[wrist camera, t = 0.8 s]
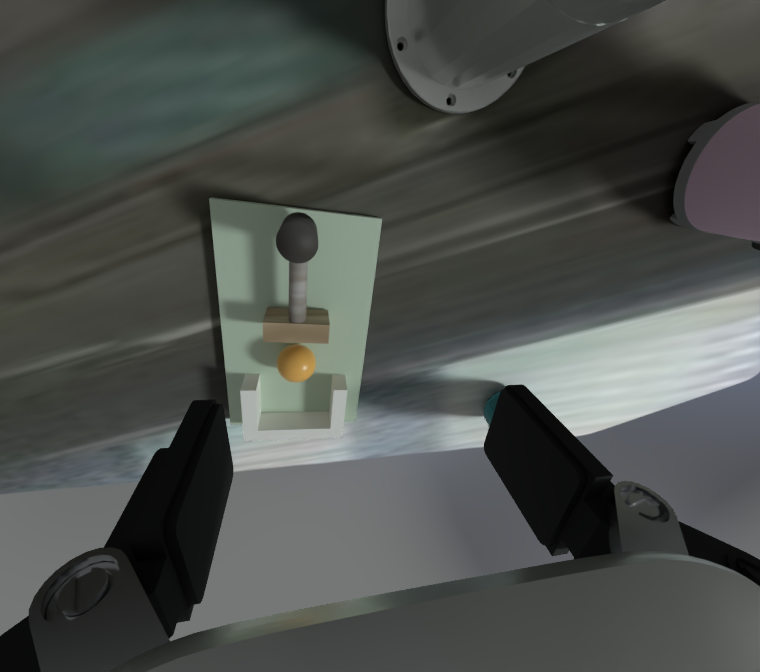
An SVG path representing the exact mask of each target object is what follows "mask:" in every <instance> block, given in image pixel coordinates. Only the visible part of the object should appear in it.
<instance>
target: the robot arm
mask: <svg viewBox="0 0 760 672" xmlns="http://www.w3.org/2000/svg"><path fill="white" fill-rule="evenodd" d="M663 1H665V0H385V29H386V35H387V40H388V46H389V50H390V53H391V56H392V59H393V62H394V65H395V67H396V69H397V71H398V73H399V75H400V77H401V79H402V81H403V82H404V83H405V85H406V86H407V87H408V89H409V90H410V91H411V93H412V94H413V95H414V96H415V97H417V98H418V99H419V100H420V101H421V102H422V103H423V104H425V105H427V106H429V107H431V108H432V109H434V110H436V111H440V112H444V113H448V114H464V113H468V112H473V111H476V110H478V109H481V108H484V107H486V106H488V105H489V104H491V103H493V102H494V101H496V100H497V99H499V98H500V97H501V96H502V95H503V94H504V93H505V92H506V91H508V90H509V89H510V87H511V86H512V85H513V84H514V83H515V81H516V80H517V79H518V78H519V76H520V75H521V73H522V71H523V69H524V68H525V66H526V65H528V64H530V63H532V62H534V61H537V60H539V59H541V58H543V57H545V56H548V55H550V54H552V53H554V52H556V51H559V50H561V49H563V48H565V47H567V46H569V45H572V44H574V43H576V42H578V41H580V40H583V39H585V38H587V37H589V36H591V35H594V34H596V33H598V32H600V31H602V30H605V29H607V28H609V27H611V26H613V25H615V24H618V23H620V22H622V21H624V20H626V19H628V18H630V17H632V16H634V15H636V14H639V13H641V12H643V11H645V10H647V9H649V8H651V7H654V6H656V5H658V4H660V3H662V2H663ZM397 44H401V46H402V51H399V50H398V48H397ZM508 73H509V75H507V74H508ZM447 98H448V99H449V100H450V104H449V105H447V103H446V99H447ZM484 451H485V453H486V455H487V457H488V459H489V460H490V462H491V464H492V465H493V467H494V469H495V470H496V472H497V473H498V475H499V477H500V478H501V480H502V482H503V483H504V485H505V486H506V488H507V490H508V491H509V493H510V494H511V496H512V498H513V499H514V501H515V503H516V504H517V506H518V508H519V509H520V511H521V513H522V514H523V516H524V517H525V519H526V521H527V522H528V524H529V526H530V527H531V529H532V530H533V532H534V534H535V535H536V537H537V539H538V540H539V541H540V543H541V544H543V545H545V546H546V547H547V549H548V550H549V552H550V554H551V555H552V556H556V555H561V554H567V553H568V551H569V550H570V552H571V553H572V555H573V556H574V559H573V560H567V561H562V562H556V563H551V564H545V565H539V566H533V567H528V568H522V569H516V570H511V571H506V572H499V573H494V574H488V575H483V576H477V577H472V578H466V579H461V580H455V581H450V582H444V583H439V584H433V585H428V586H422V587H417V588H411V589H406V590H401V591H395V592H390V593H385V594H380V595H374V596H369V597H363V598H358V599H353V600H347V601H343V602H337V603H331V604H326V605H321V606H316V607H310V608H305V609H300V610H295V611H291V612H285V613H281V614H275V615H271V616H266V617H261V618H256V619H252V620H247V621H242V622H237V623H233V624H228V625H225V626H220V627H217V628H213V629H209V630H205V631H201V632H197V633H193V634H191V635H188V636H185V637H182V638H179V639H177V640H173V641H171V642H170V640H169V638H170V637H171V636H172V635H173V634H174V630H175V627H176V624H177V623H178V622H184V621H189V620H190V617H191V613H192V610H193V606H194V604H199V603H201V601H202V599H203V596H204V591H205V588H206V584H207V580H208V576H209V572H210V567H211V564H212V560H213V556H214V551H215V547H216V543H217V539H218V535H219V531H220V527H221V523H222V519H223V514H224V511H225V507H226V502H227V499H228V495H229V490H230V487H231V483H232V478H233V462H232V456H231V451H230V445H229V439H228V433H227V427H226V421H225V415H224V409H223V405H222V404H216V401H215V400H214V399H213V400H194V401H193V402H192V403H191V405H190V407H189V409H188V411H187V413H186V415H185V417H184V419H183V421H182V423H181V425H180V427H179V429H178V431H177V433H176V435H175V437H174V439H173V441H172V443H171V445H170V447H169V448H161V449H159V450H157V451H156V453H155V454H154V456H153V458H152V459H151V461H150V463H149V465H148V467H147V469H146V470H145V472H144V474H143V476H142V478H141V480H140V482H139V483H138V485H137V487H136V489H135V491H134V493H133V495H132V496H131V498H130V500H129V502H128V504H127V506H126V508H125V509H124V511H123V513H122V515H121V517H120V519H119V521H118V522H117V525H116V526H115V528H114V530H113V532H112V534H111V535H110V537H109V539H108V541H107V543H106V544H105V546H104V548H98V549H94V550H91V551H88V552H85V553H83V554H81V555H79V556H77V557H75V558H74V559H72V560H70V561H69V562H67V563H66V564H65V565H63V566H62V567H60V568H59V569H58V570H56V571H55V572H54V573H53V574H52V575H51V576H50V577H49V578H48V579H47V580H46V581H45V582H44V584H43V585H42V586H41V588H40V589H39V591H38V592H37V593H36V595H35V596H34V599H33V601H32V604H31V606H30V608H29V616H27V617H26V618H25V619H23V620H22V621H21V622H20V623H18V624H16V625H15V626H14V627H12V628H11V629H9V630H8V631H7V632H5V633H4V634H2V635H1V636H0V672H760V560H759V559H757V558H755V557H754V556H752V555H750V554H748V553H746V552H744V551H742V550H740V549H738V548H735V547H733V546H731V545H729V544H727V543H725V542H722V541H720V540H718V539H716V538H714V537H712V536H709V535H707V534H705V533H703V532H701V531H699V530H696V529H694V528H692V527H690V526H688V525H686V524H683V523H681V522H679V521H678V519H677V516H676V514H675V512H674V510H673V508H672V507H671V506H670V505H669V504H668V502H667V501H666V500H664V499H663V498H662V497H661V496H660V495H658V494H657V493H656V492H654V491H652V490H651V489H649V488H647V487H645V486H643V485H641V484H638V483H635V482H631V481H621V482H618V483H617V484H616V485H615V486H614V485H613V483H611V481H610V480H611V478H612V477H613V475H612V474H611V473H610V472H609V471H608V470H607V469H606V468H605V467H604V466H603V465H602V464H601V463H600V462H599V461H598V460H597V459H596V458H595V457H594V456H593V454H591V453H590V451H589V450H588V449H587V448H586V447H585V446H584V445H583V444H582V443H581V442H580V441H579V440H578V439H577V438H576V437H575V436H574V435H573V434H572V433H571V432H570V431H569V430H568V429H567V428H566V427H565V426H564V425H563V424H562V423H561V422H560V421H559V420H558V419H557V418H556V417H555V416H554V415H553V414H552V413H551V412H550V411H549V410H548V409H547V408H546V407H545V406H544V405H543V404H542V403H541V402H540V401H539V400H538V399H537V398H536V397H535V396H534V395H533V394H532V393H531V392H530V391H529V390H528V388H527V387H525V386H524V385H508V386H506V387H505V388H504V390H502V391H501V392H500V395H499V398H498V401H497V404H496V407H495V411H494V414H493V417H492V420H491V423H490V427H489V430H488V433H487V436H486V440H485V443H484Z"/></svg>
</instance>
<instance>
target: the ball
mask: <svg viewBox="0 0 760 672" xmlns="http://www.w3.org/2000/svg"><path fill="white" fill-rule="evenodd" d="M315 368H316V359H315V356H314V354H313V352H312V351H311V350H310V349H309V348H308V347H306V346H304V345H300V344H294V345H290V346H288V347H286V348H284V349H283V350H282V351H281V352H280V354H279V356H278V358H277V369H278V372H279V374H280V375H281V376H282V377H283V378H284V379H285V380H287V381H290V382H294V383H298V382H302V381H305V380H307V379H308V378H309V377H310V376H311V375H312V374H313V372H314V370H315Z"/></svg>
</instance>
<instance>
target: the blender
mask: <svg viewBox="0 0 760 672" xmlns="http://www.w3.org/2000/svg"><path fill="white" fill-rule="evenodd" d="M688 142H689V143H690V144H695V145H694V146H693V147H692V149H691V151H690V152H689V154H688V155H687V157H686V159H685V161H684V163H683V165H682V167H681V170H680V172H679V175H678V178H677V181H676V184H675V189H674V198H673V203H674V211H675V213H674V214H673V215H672V216H670V220H671V221H672V222H673V223H675V224H676V225H678V226H682V227H685V228H688V229H691V230H696V231H702V232H710V233H715V234H721V235H726V236H731V237H736V238H742V239H748V240H750V241H752V247H753V248H754V249H757V250H760V102H753V103H747V104H744V105H741V106H739V107H736V108H734V109H732V110H731V111H729V112H727V113H726V114H724V115H723V116H722V117H720V118H719V119H717V120H714V121H710V122H705V123H704V124H702V125H701V126H700V127H699V128H698V129H697V130H696V131H695V132H694V133H693V134H692V135H691V136H690V138H689V139H688Z"/></svg>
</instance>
